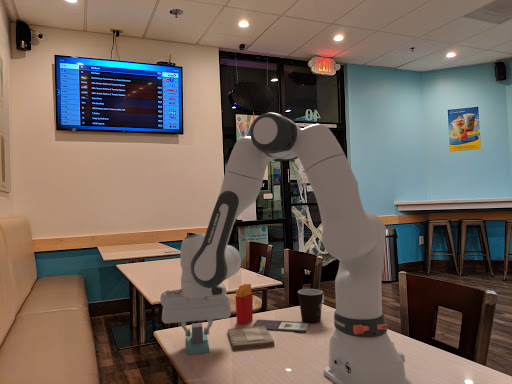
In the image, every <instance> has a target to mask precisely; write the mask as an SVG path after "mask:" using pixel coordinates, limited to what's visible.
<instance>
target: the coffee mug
mask: <svg viewBox="0 0 512 384" xmlns="http://www.w3.org/2000/svg"><path fill="white" fill-rule="evenodd" d="M297 294H298V295H297V296H298V300H299V301H298V302H299V308H300V316H301V322H309V325H313V324H315V325H316V324H319V323H320V322H322V321H321V320H322V319H321V318H322V308H323V297H324V292H323V290H320V289H316V288H303V289H299V290H297Z"/></svg>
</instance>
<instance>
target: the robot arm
mask: <svg viewBox="0 0 512 384" xmlns="http://www.w3.org/2000/svg"><path fill="white" fill-rule="evenodd" d="M346 156H347V155H346V154H345V152H344V151H343V148H342V146H341V144H340V143H339V141H338V139H337V138H336V137H335V135H334V133H333V132H332V131H331V130H330V129H329V127H328V126H327V125H325V124H323V123H314V124H310V125H308V126H306V127H304V128H302V127H301V126H299V125H298V124H297V123H295V121H293V120H291V119H290V118H288V117H286V116H283V115H282V114H279V113H276V112H265V113H262V114H260V115H258V116H257V117H256V118H255V119H254V120H253V122H252V123H251V126H250V131H249V136H243V137H240V138H239V139H237V140H236V142H235V144H234V145H233V149H232V150H231V153H230V155H229V159H228V161H227V164H226V169H225V172H224V176H223V180H222V184H221V187H220V191H219V193H218V197H217V200H216V203H215V204H214V207H213V211H212V213H211V216H210V219H209V222H208V225H207V229H206V232H205V233H197V234H191V235H187V236H186V237H184V238H183V239H182V242H181V243H180V244H181V245H180V267H181V276H180V289H173V290H172V289H171V290H170V289H168V290H165V291H164V292H163V293H161V295H160V304H161V306H162V311H161V312H162V313H161V322H163V323H164V324H174V323H176V324H177V323H181V324H180V325H181V327H182V329H183V331H185V332H184V333H185V334H184V335H185V337H186V338H187V336H190V332H191V328H187V326H186V325H187V322H189V323H190V322H198V321H207V326H205V327H203V331H204V335H207V336H208V335H210V329H211V327H212V325H213V322H214V321H213V320H221V319H230V317H231V315H232V309H231V302H230V299H229V296H228V295H227V287H226V285H225V284H224V283H223V282H224V281H226V280H228V279H229V278H231V277H232V276H234V275H235V274H237V273H238V271H240V269H241V267H242V263H243V262H242V255H241V252H240V251H239V250H238V249H237V248H236V247H235V246H234V245H230V244H229V241H230V237H231V234H232V231H233V228H234V227H233V226H235V222H236V220H237V219H238V217H240V215H242V213H243V212H244V211H245V210H246V209H248V208H249V207H251V205H253V203H255V202H256V200H257V198H258V196H259V195H260V192H261V189H262V186H263V181H264V177H265V173H266V169H267V167H268V165H269V164H270V162H272V161H273V162H277V163H278V162H288V161H293V160H297V159H298V160H299V161H300V164H301V165H302V168H303V170H304V172H305V176H306V177H307V179H308V182H309V185H310V187H311V190H312V192H313V194H314V197H315V199H316V203H317V205H318V211H319V214H320V219H321V224H322V233H321V241H322V242H321V243H322V245H323V248H324V249H325V251H326V252H327V253H328V254H329V255H330V256H331V257H333V258H335V259H338V260H339V264H338V270H337V274H336V276H335V280H334V286H335V287H334V288H335V289H334V292H335V310H334V314H333V322H334V324H333V325H334V326H333V327H335V330H334V332H333V333H332V335H331V336H330V338H329V346H328V347H329V350H328V365H327V366H326V367H324V368H323V375H324V376H326V377H327V378H328V379H330V380H331V381H332V382H333V383H335V384H414V383H413V382H412V381H411V379H410V378H409V377H408V376H407V375H406V371H405V369H406V368H405V362H406V358H405V354H404V353H403V352H398V350H397V348H396V347H395V343H394V341H392V340H391V338H390V336H389V335H388V333H387V332H388V327H387V326H388V323H387V321H386V319H385V315H384V313H383V304H382V303H383V300H382V297H383V296H382V277H383V269H384V268H383V267H384V260H385V259H384V258H385V246H386V244H385V242H386V236H387V229H386V225H385V223H384V221H383V220H382V219H381V218H380V217H379V216H378V215H376V214H375V213H373V212H371V211H367V210H366V211H365V210H364V207H363V204H362V200H361V196H360V192H359V183H358V180H357V178H356V176H355V174H354V172H353V170H352V167H351V165H350V163H349V161H348V159H347V157H346Z"/></svg>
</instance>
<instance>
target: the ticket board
mask: <svg viewBox="0 0 512 384" xmlns="http://www.w3.org/2000/svg"><path fill="white" fill-rule="evenodd" d="M227 335H228V338H229V341H230V344H231V348H232V351H238V350H239V351H240V350H249V349H250V350H251V349H260V348H268V347H269V348H270V347H275V340H274V339H273V336H271V334H270V332H269V330H267V329H266V328H265V326H256V327H252V326H249V327H248V326H247V327H246V326H245V327H236V328H235V327H234V328H228V329H227Z"/></svg>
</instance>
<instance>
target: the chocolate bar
mask: <svg viewBox="0 0 512 384" xmlns="http://www.w3.org/2000/svg"><path fill="white" fill-rule="evenodd" d="M309 325H310V324H309V322H302V321H290V320H289V321H287V320H273V319H272V320H271V319H256V320H255V322H254V323H253V325H252V326H251V327H256V326H265V328H266V329H267V331H274V332H275V331H276V332H290V333H296V334H306V332H307V331H308V328H309Z"/></svg>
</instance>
